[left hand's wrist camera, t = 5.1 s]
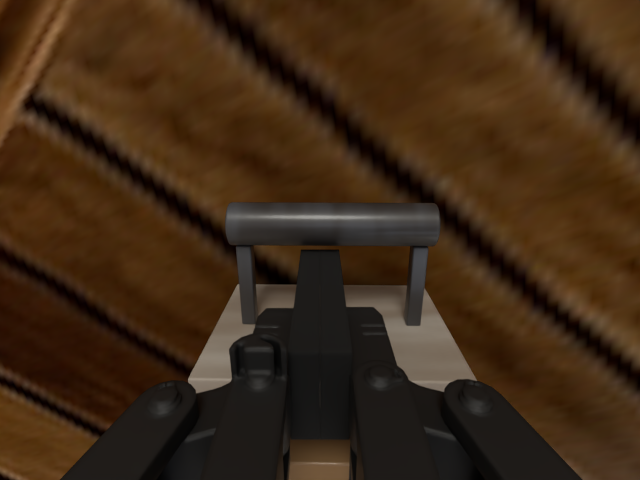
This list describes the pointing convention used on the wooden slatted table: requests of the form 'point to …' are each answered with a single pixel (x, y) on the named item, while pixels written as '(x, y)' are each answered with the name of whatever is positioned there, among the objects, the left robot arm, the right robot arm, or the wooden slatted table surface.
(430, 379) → the drawer
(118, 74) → the wooden slatted table surface
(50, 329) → the wooden slatted table surface
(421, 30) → the wooden slatted table surface
